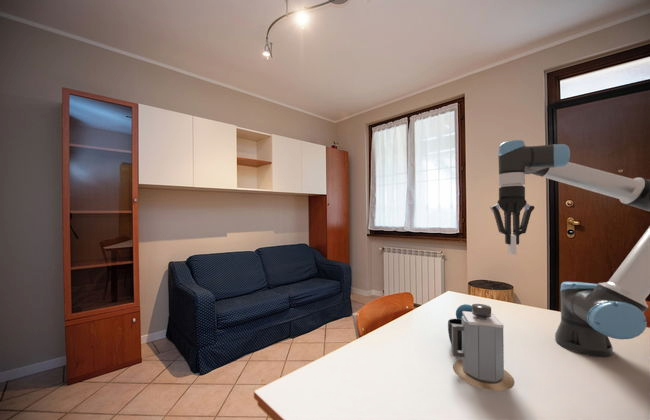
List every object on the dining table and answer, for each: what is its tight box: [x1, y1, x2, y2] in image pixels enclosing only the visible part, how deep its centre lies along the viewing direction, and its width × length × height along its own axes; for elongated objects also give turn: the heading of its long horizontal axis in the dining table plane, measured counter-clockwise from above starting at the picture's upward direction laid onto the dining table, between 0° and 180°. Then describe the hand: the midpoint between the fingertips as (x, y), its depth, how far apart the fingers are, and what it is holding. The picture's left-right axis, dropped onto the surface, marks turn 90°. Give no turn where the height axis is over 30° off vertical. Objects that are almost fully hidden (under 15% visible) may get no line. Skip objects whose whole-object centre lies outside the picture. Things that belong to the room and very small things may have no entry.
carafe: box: [451, 311, 505, 384], centre depth 82 cm, size 13×10×17 cm
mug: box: [447, 318, 462, 351], centre depth 97 cm, size 8×12×10 cm
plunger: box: [471, 303, 492, 319], centre depth 82 cm, size 8×8×12 cm
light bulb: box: [455, 303, 472, 319], centre depth 108 cm, size 8×8×12 cm
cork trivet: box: [452, 358, 515, 392], centre depth 82 cm, size 16×16×1 cm
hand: (512, 253), depth 95 cm, fingers closed
